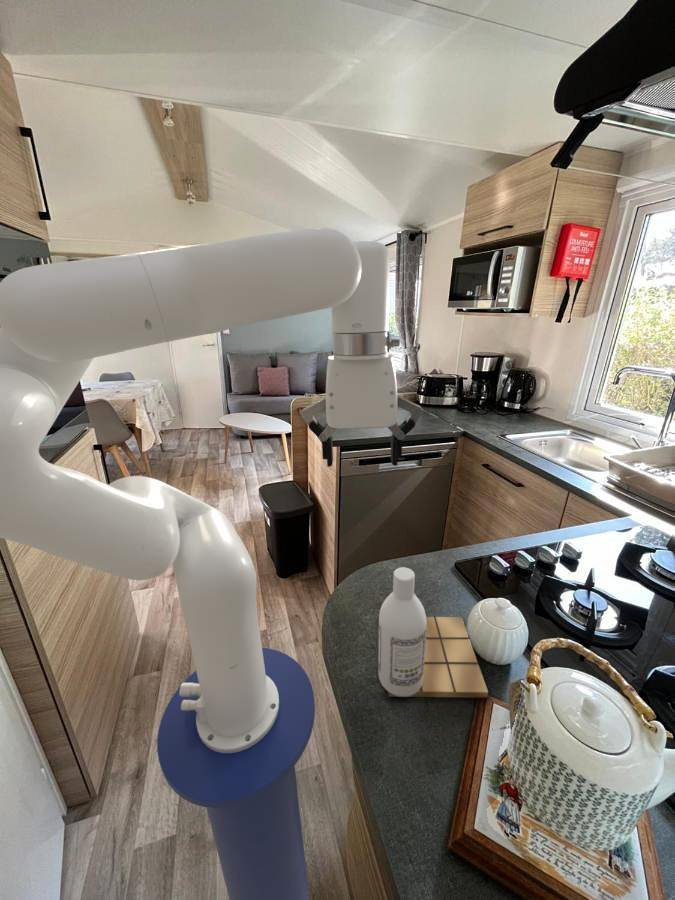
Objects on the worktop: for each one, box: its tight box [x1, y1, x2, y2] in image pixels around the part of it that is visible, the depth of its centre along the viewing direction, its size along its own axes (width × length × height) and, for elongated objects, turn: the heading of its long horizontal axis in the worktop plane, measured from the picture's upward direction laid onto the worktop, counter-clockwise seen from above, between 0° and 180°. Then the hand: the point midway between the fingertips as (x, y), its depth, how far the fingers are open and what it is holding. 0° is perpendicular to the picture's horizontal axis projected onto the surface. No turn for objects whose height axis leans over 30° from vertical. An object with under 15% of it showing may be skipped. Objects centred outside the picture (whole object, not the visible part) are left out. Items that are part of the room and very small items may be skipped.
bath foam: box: [377, 566, 427, 698], centre depth 56 cm, size 7×7×20 cm
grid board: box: [387, 616, 489, 699], centre depth 65 cm, size 15×15×1 cm
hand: (361, 462), depth 57 cm, fingers open, 9 cm apart
